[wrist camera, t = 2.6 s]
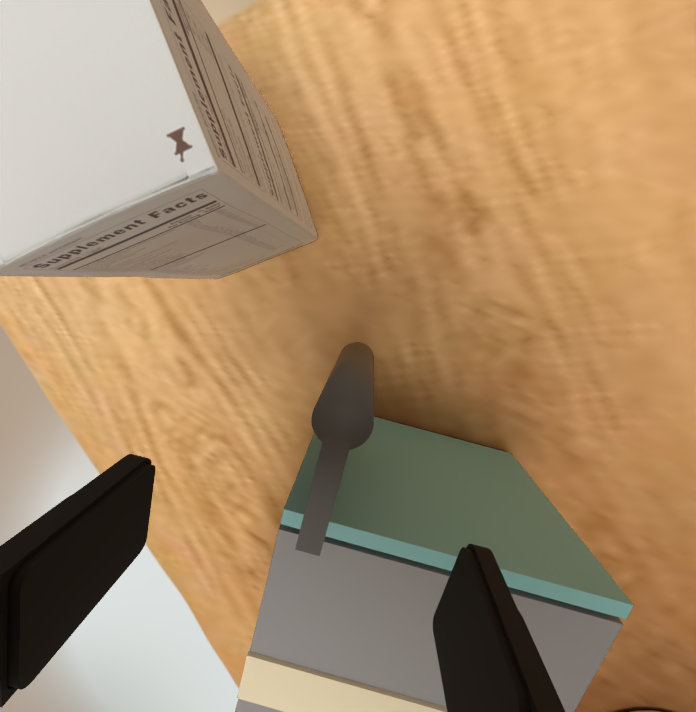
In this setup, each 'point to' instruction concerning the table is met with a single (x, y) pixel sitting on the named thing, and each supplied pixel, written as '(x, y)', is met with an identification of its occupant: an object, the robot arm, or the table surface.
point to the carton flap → (433, 498)
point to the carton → (385, 634)
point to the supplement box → (136, 146)
